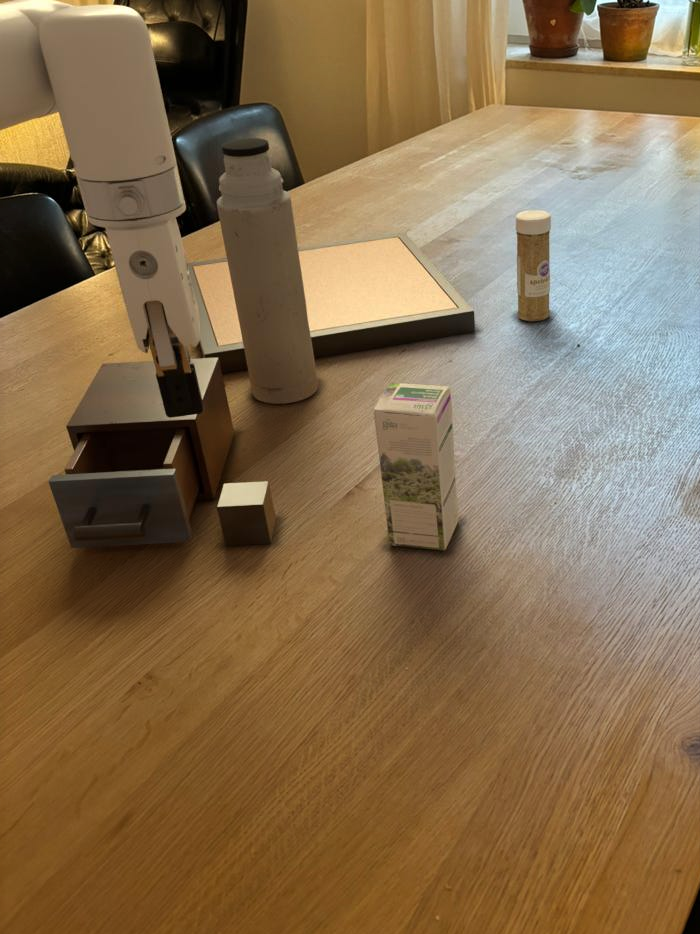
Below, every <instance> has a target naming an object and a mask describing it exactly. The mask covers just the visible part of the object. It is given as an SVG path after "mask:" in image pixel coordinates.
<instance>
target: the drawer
mask: <svg viewBox="0 0 700 934" xmlns="http://www.w3.org/2000/svg"><path fill="white" fill-rule="evenodd" d="M63 470H64V474H53V475H51V476H50V478H49V480H48V485H49V488H50V491H51V494H52V496H53V499H54V502H55V505H56V508H57V511H58V514H59V516H60V519H61V522H62V525H63V529H64V530H65V534H66V536H67V540H68V543H69V546H70V549H80V548H83V549H84V548H101V547H116V546H117V547H118V546H119V547H120V546H136V545H137V546H138V545H155V544H169V543H170V544H171V543H173V544H174V543H188V542H192V538H193V535H194V534H193V530H192V526H191V523H190V518H191V515H192V512H193V509H194V506H195V503H196V501H197V500H196V497H197V494H198V491H199V488H200V485H201V482H202V479H201V475H200V471H199V466H198V462H197V458H196V454H195V450H194V445H193V441H192V437H191V433H190V429H189V427H176V428H158V429H139V430H121V431H103V432H85V433H84V434H83V436H82V438H81V440H80V442H79V444H78V445H77V447H76V449H75V451H74V450H73V453H72V454H71V457H70V459H69V460H68V462H67V463H66V466H65V467H64V469H63Z"/></svg>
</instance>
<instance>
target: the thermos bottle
mask: <svg viewBox="0 0 700 934" xmlns="http://www.w3.org/2000/svg"><path fill="white" fill-rule="evenodd" d="M269 150H270V145H269V141H268V140H267V139H265V138H258V137H244V138H237V139H232V140H229V141H226V142H224V143H222V144H221V151H222V154H223V157H224V158H223V165H224V170H225V172H223V174H222V175H220V176H219V178H218V182H219V187H218V190H219V192H220V194H221V196H220V197H218V198H217V200H216V208H217V214H218V219H219V225H220V229H221V234H222V239H223V246H224V250H225V255H226V258H227V261H228V266H229V272H230V277H231V282H232V287H233V293H234V298H235V303H236V308H237V314H238V319H239V324H240V330H241V335H242V340H243V345H244V351H245V356H246V361H247V366H248V370H247V372H248V377H249V382H250V387H251V391H252V395H253V397H254V398H255V399H256V400H257V401H260V402H263V403H266V404H271V405H273V404H274V405H275V404H276V405H282V404H283V405H285V404H291V403H296V402H299V401H300V402H301V401H302V400H305V399H308V398H309V397H311V396H313V395H314V394H315V393H316V392H317V390H318V387H319V382H318V376H317V368H316V362H315V361H316V360H315V358H314V354H313V348H312V341H311V335H310V329H309V323H308V316H307V308H306V300H305V293H304V286H303V279H302V272H301V265H300V259H299V252H298V248H299V246H298V237H297V232H296V225H295V224H296V223H295V218H294V212H293V211H294V210H293V206H292V204H293V203H292V198H291V194H290V193H289V192H288V191H286V190H284V188H283V183H284V179H283V178H282V175H281V173H280V172H279V170H278V169H275V168H273V167H272V164H271V157H270V154H269V152H268V151H269Z"/></svg>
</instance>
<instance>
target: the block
mask: <svg viewBox="0 0 700 934" xmlns="http://www.w3.org/2000/svg"><path fill="white" fill-rule="evenodd" d="M271 490H272V489H271V485H270V482H269V481H268V480H264V481H263V480H262V481H245V482H228V483H226V482H225V483H223V484H222V488H221V492H220V495H219V497H218V502H217V505H216V512H217V517H218V519H219V520H218V521H219V525H220V528H221V533H222V537H223V540H224V546H225V547H236V546H250V545H252V546H254V545H268V544H269V545H270V544H272V541H273V536H274V530H275V526H276V522H277V521H276V520H277V516H276V512H275V506H274V501H273V495H272V491H271Z"/></svg>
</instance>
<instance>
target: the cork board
mask: <svg viewBox="0 0 700 934" xmlns="http://www.w3.org/2000/svg"><path fill="white" fill-rule="evenodd" d="M298 252H299V259H300V265H301V272H302V279H303V286H304V293H305V300H306V308H307V316H308V323H309V329H310V335H311V341H312V348H313V354H314V359H319V358H324V357H325V358H326V357H330V356H331V357H333V356H338V355H342V354H349V353H355V352H361V351H367V350H372V349H380V348H385V347H390V346H396V345H397V346H398V345H402V344H403V345H404V344H410V343H415V342H421V341H427V340H433V339H439V338H445V337H451V336H457V335H464V334H469V333H475V332H476V323H475V322H476V321H475V318H476V317H475V311H474V309H473V308H472V307H471V306H470V305H469V304H468V303H467V301H466V300H465V299H464V297H462V295H461V294H460V293H459V292H458V291H457V290H456V289H455V288H454V287H453V285H452V283H450V282H449V281H448V279H446V277H445V276H444V275H443V274H442V273H441V272H440V271H439V269H438V268H437V267H436V265H434V264H433V262H431V260H430V259H429V257H427V256H426V254H425V253H424V252H423V251H422V250H421V249H420V247H418V246H417V244H416V243H415V242H414V240H412V239H411V238H410V236H409V235H408V234H407V232H400V233H399V232H397V233H392V234H385V235H377V236H370V237H364V238H363V237H362V238H357V239H349V240H342V241H336V242H335V241H334V242H328V243H322V244H315V245H314V244H313V245H307V246H300V247H299V246H298ZM187 264H188V269H189V273H190V277H191V282H192V286H193V290H194V294H195V298H196V302H197V306H198V311H199V326H200V341H199V343H198V344H199V347H200V350H201V354H202V358H217V357H218V358H219V362H220V367H221V371H222V375H223V374H229V373H235V372H240V371H241V372H242V371H248V366H247V361H246V356H245V351H244V345H243V340H242V335H241V330H240V324H239V319H238V314H237V308H236V303H235V298H234V293H233V287H232V282H231V277H230V272H229V266H228V261H227V257H223V258H216V259H208V260H200V261H195V262H187Z"/></svg>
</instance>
